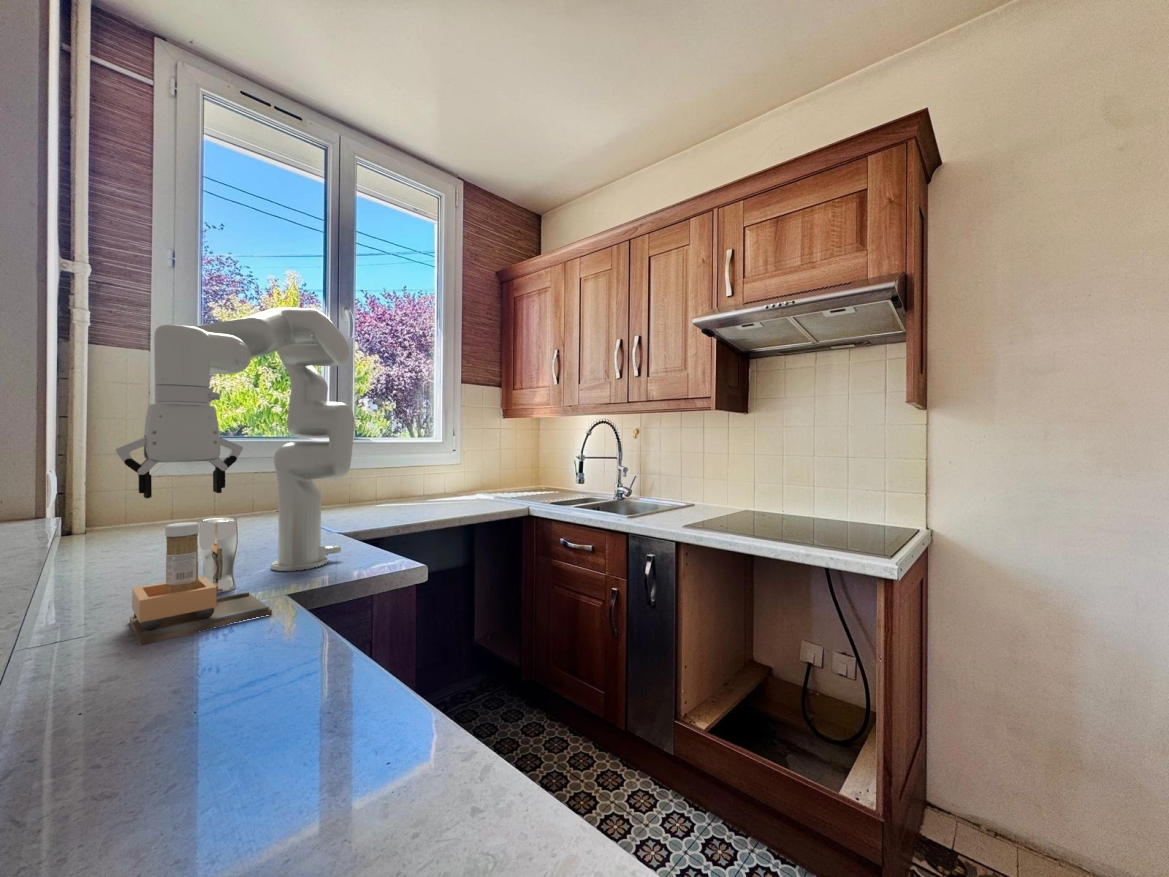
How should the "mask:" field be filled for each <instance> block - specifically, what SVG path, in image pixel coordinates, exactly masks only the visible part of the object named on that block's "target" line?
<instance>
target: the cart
mask: <svg viewBox="0 0 1169 877" xmlns="http://www.w3.org/2000/svg"><path fill="white" fill-rule="evenodd" d="M166 587H167V586H166V582H162V583H161V582H160V583H154V584H148V585H142V586H135V587H132V589H131V593H132V594H131V608H132V611H133V614H134V613H135V615H136V617H137V619H138V621H139V623H140V622H141V626H142V628H143V629H144V630H147V631H151V630H154V629H156V628H158V627H159V626H160V624H161V618H165V617H170V616H175V615H180V614H185V613H190V612H195V613H196V615H197V617H198V618H200V619H207V618H209V617H211V616H212V615H213V613H214V608H215V607H217V597H218V596H217V594H218V593H217V587H216V586H215V585H214V584H213V583H211V582H210V581H209V580H208V579H207V578H206V577H205V576H203V575H202V576H198V589H193V590H187V591H182V592H176V593H170V594H167V593H166Z"/></svg>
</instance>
